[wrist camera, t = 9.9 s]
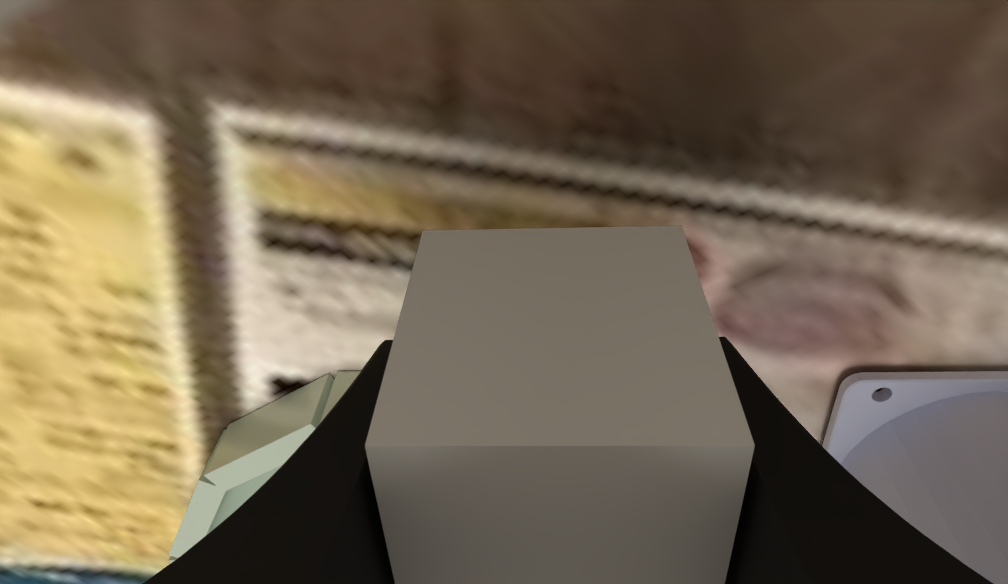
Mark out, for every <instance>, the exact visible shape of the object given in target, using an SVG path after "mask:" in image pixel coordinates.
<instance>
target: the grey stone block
mask: <svg viewBox="0 0 1008 584" xmlns="http://www.w3.org/2000/svg"><path fill="white" fill-rule="evenodd" d="M754 447H755V444H754V441H753V439H752V436H751V433H750V430H749V427H748V424H747V421H746V418H745V415H744V412H743V409H742V406H741V403H740V400H739V397H738V394H737V391H736V388H735V385H734V382H733V379H732V376H731V373H730V370H729V367H728V364H727V361H726V358H725V355H724V352H723V349H722V346H721V343H720V340H719V337H718V334H717V331H716V328H715V325H714V322H713V319H712V316H711V313H710V310H709V307H708V304H707V301H706V298H705V295H704V292H703V289H702V286H701V283H700V280H699V277H698V274H697V271H696V268H695V265H694V262H693V259H692V256H691V253H690V250H689V247H688V244H687V241H686V238H685V235H684V232H683V229H682V226H633V227H581V228H530V229H478V230H426V231H423V232H422V235H421V239H420V243H419V247H418V250H417V254H416V258H415V261H414V265H413V269H412V273H411V276H410V280H409V284H408V287H407V291H406V295H405V298H404V302H403V306H402V310H401V313H400V317H399V321H398V324H397V328H396V332H395V336H394V339H393V343H392V347H391V350H390V354H389V358H388V362H387V365H386V369H385V373H384V376H383V380H382V384H381V388H380V391H379V395H378V399H377V402H376V406H375V410H374V414H373V417H372V421H371V425H370V428H369V432H368V436H367V440H366V443H365V449H366V454H367V459H368V463H369V468H370V472H371V477H372V481H373V486H374V491H375V495H376V500H377V504H378V509H379V513H380V518H381V522H382V527H383V532H384V536H385V541H386V545H387V550H388V554H389V559H390V564H391V568H392V573H393V577H394V582H395V584H725V581H726V576H727V571H728V567H729V562H730V558H731V553H732V548H733V544H734V539H735V535H736V530H737V525H738V521H739V516H740V512H741V507H742V502H743V498H744V493H745V488H746V484H747V479H748V475H749V470H750V465H751V461H752V456H753V452H754Z"/></svg>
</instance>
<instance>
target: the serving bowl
mask: <svg viewBox="0 0 1008 584" xmlns="http://www.w3.org/2000/svg"><path fill="white" fill-rule="evenodd" d="M360 372H361V371H337V374H336V377H335V379H334V378H333V377H332V376H331V375H330V374H327V375H325V376H323V377H321V378H319V379H317V380H315V381H313V382H311V383H309V384H307V385H305V386H303V387H301V388H299V389H297V390H295V391H293V392H291V393H289V394H287V395H285V396H283V397H282V398H280V399H278V400H276V401H274V402H272V403H270V404H268V405H266V406H264V407H262V408H260V409H258V410H256V411H254V412H252V413H250V414H248V415H246V416H244V417H242V418H240V419H238V420H236V421H234V422H232V423H230V424H229V425H228V427H227V429H224V430H223V432H222V434H221V436H220V438H219V440H218V443H217V445H216V447H215V449H214V451H213V453H212V455H211V457H210V459H209V461H208V463H207V465H206V467H205V469H204V471H203V473H202V475H201V477H200V479H199V481H198V484H197V486H196V489H195V491H194V493H193V496H192V498H191V501H190V503H189V506H188V508H187V510H186V513H185V515H184V518H183V520H182V523H181V525H180V528H179V530H178V532H177V535H176V537H175V540H174V542H173V545H172V547H171V550H170V552H169V554H168V555H170V559H169V562H170V564H171V563H172V562H174V561H175V560H176V559H178V558H179V557H180V556H181V555H183V554H184V553H185V552H186V551H188V550H189V549H190V548H191V547H193V546H194V545H195V544H196V543H198V542H199V541H200V540H201V539H202V538H204V537H205V536H206V535H207V534H209V533H210V532H211V531H212V530H213V529H215V528H216V527H217V526H218V525H219V524H220V523H222V522H223V521H224V520H225V519H226V518H228V517H229V516H230V515H231V514H232V513H233V512H234V511H236V510H237V509H238V508H239V507H240V506H241V505H242V504H243V503H244V502H245V501H246V500H248V499H249V498H250V497H251V496H252V495H253V494H254V493H255V492H256V491H257V490H258V489H259V488H260V487H261V486H262V485H263V484H264V483H265V482H266V481H267V480H268V479H269V478H270V477H271V476H272V475H273V474H274V473H275V472H276V471H277V470H278V469H279V468H280V467H281V466H282V465H283V464H284V463H285V462H286V461H287V460H288V459H289V457H290V456H291V455H292V454H293V453H294V452H295V451H296V450H297V449H298V448H299V446H300V445H301V444H302V443H303V442H304V441H305V440H306V439H307V438H308V437H309V435H310V434H311V433H312V432H313V431H314V430H315V429H316V427H317V426H318V425H319V424H320V423H321V421H322V420H323V419H324V418H325V417H326V415H327V414H328V413H329V412H330V410H331V409H332V408H333V407H334V405H335V404H336V403H337V402H338V401H339V399H340V398H341V397H342V396H343V394H344V393H345V392H346V390H347V389H348V388H349V386H350V385H351V384H352V383H353V381H354V380H355V379H356V377H357V376H358V375H359V373H360Z"/></svg>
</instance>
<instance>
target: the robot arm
mask: <svg viewBox="0 0 1008 584" xmlns="http://www.w3.org/2000/svg"><path fill="white" fill-rule="evenodd" d="M719 340H720V343H721V346H722V349H723V352H724V355H725V358H726V361H727V364H728V367H729V370H730V373H731V376H732V379H733V382H734V385H735V388H736V391H737V394H738V397H739V400H740V403H741V406H742V409H743V412H744V415H745V418H746V421H747V424H748V427H749V430H750V433H751V436H752V439H753V441H754V444H755V447H754V452H753V456H752V461H751V465H750V470H749V475H748V479H747V484H746V488H745V493H744V498H743V502H742V507H741V512H740V516H739V521H738V525H737V530H736V535H735V539H734V544H733V548H732V553H731V558H730V562H729V567H728V571H727V576H726V581H725V584H1008V371H962V372H862V373H855V374H853V375H850V376H848V377H847V378H846V379H845V380H843V381H842V383H841V385H840V387H839V390H838V394H837V397H836V401H835V404H834V407H833V411H832V414H831V418H830V421H829V424H828V428H827V431H826V435H825V438H824V441H823V445H822V446H821V445H820V444H819V443H818V442H817V441H816V440H815V439H814V437H813V436H812V435H811V434H810V433H809V432H808V431H807V430H806V429H805V428H804V427H803V426H802V425H801V424H800V423H799V422H798V421H797V419H796V418H795V417H794V416H793V415H792V414H791V413H790V412H789V411H788V410H787V409H786V408H785V406H784V405H783V404H782V403H781V402H780V401H779V400H778V399H777V398H776V396H775V395H774V394H773V393H772V392H771V391H770V389H769V388H768V387H767V386H766V385H765V384H764V382H763V381H762V380H761V379H760V378H759V377H758V375H757V374H756V373H755V372H754V371H753V369H752V368H751V367H750V366H749V365H748V363H747V362H746V361H745V360H744V358H743V357H742V356H741V355H740V354H739V352H738V351H737V350H736V349H735V347H734V346H733V345H732V344H731V343H730V342H729V340H728V339H727V338H726V337H719ZM392 343H393V340H385V341H384V342H383V343H382V344H381V345H380V346H379V347H378V348H377V350H376V351H375V353H374V354H373V355H372V357H371V358H370V360H369V361H368V362H367V364H366V365H365V366H364V368H363V369H362V371H361V372H360V373H359V375H358V376H357V377H356V379H355V380H354V381H353V383H352V384H351V385H350V386H349V388H348V389H347V390H346V392H345V393H344V394H343V396H342V397H341V398H340V399H339V401H338V402H337V403H336V404H335V405H334V407H333V408H332V409H331V410H330V412H329V413H328V414H327V415H326V417H325V418H324V419H323V420H322V421H321V423H320V424H319V425H318V426H317V427H316V429H315V430H314V431H313V432H312V433H311V434H310V435H309V437H308V438H307V439H306V440H305V441H304V442H303V443H302V444H301V445H300V446H299V448H298V449H297V450H296V451H295V452H294V453H293V454H292V455H291V456H290V457H289V459H288V460H287V461H286V462H285V463H284V464H283V465H282V466H281V467H280V468H279V469H278V470H277V471H276V472H275V473H274V474H273V475H272V476H271V477H270V478H269V479H268V480H267V481H266V482H265V483H264V484H263V485H262V486H261V487H260V488H259V489H258V490H257V491H256V492H255V493H254V494H253V495H252V496H251V497H250V498H249V499H248V500H246V501H245V502H244V503H243V504H242V505H241V506H240V507H239V508H238V509H237V510H236V511H234V512H233V513H232V514H231V515H230V516H229V517H228V518H226V519H225V520H224V521H223V522H222V523H220V524H219V525H218V526H217V527H216V528H215V529H213V530H212V531H211V532H210V533H209V534H207V535H206V536H205V537H204V538H202V539H201V540H200V541H199V542H198V543H196V544H195V545H194V546H193V547H191V548H190V549H189V550H188V551H186V552H185V553H184V554H183V555H181V556H180V557H179V558H178V559H176V560H175V561H174V562H172V563H171V564H169V565H168V566H167V567H165V568H164V569H163V570H161V571H160V572H159V573H157V574H156V575H154V576H153V577H152V578H150V579H149V580H148V581H146V582H145V583H143V584H395V582H394V577H393V573H392V568H391V564H390V559H389V554H388V550H387V545H386V541H385V536H384V532H383V527H382V522H381V518H380V513H379V509H378V504H377V500H376V495H375V491H374V486H373V481H372V477H371V472H370V468H369V463H368V459H367V454H366V449H365V443H366V440H367V436H368V432H369V428H370V425H371V421H372V417H373V414H374V410H375V406H376V402H377V399H378V395H379V391H380V388H381V384H382V380H383V376H384V373H385V369H386V365H387V362H388V358H389V354H390V350H391V347H392ZM879 388H884V389H882V390H880V391H877V392H874V391H876V390H877V389H879Z"/></svg>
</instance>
